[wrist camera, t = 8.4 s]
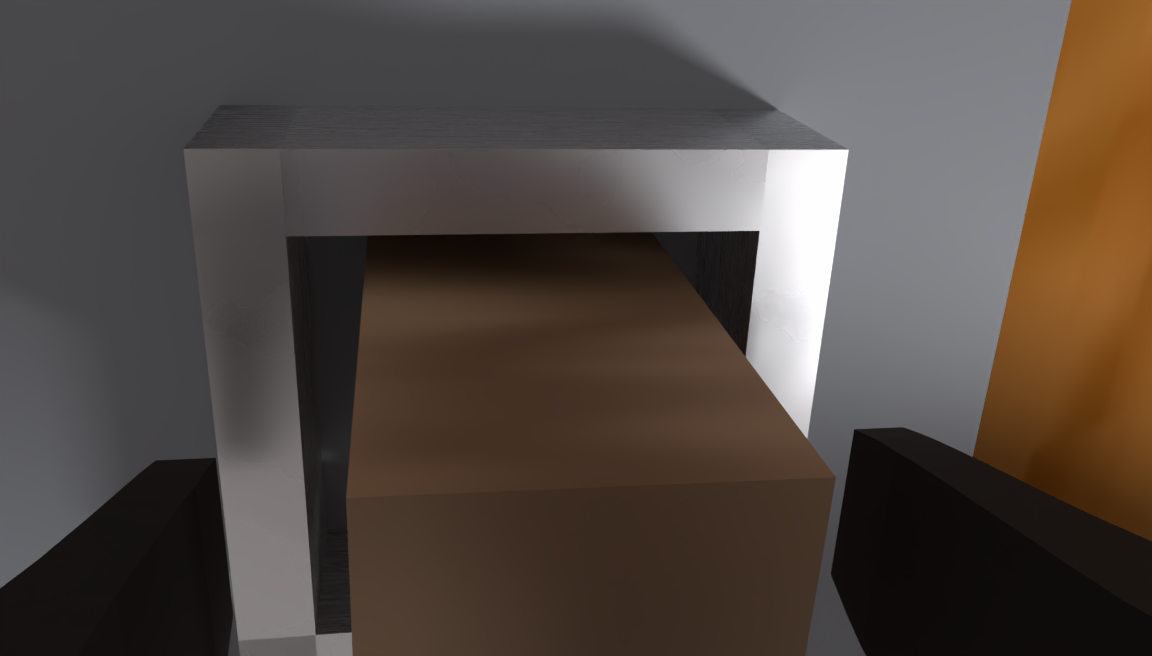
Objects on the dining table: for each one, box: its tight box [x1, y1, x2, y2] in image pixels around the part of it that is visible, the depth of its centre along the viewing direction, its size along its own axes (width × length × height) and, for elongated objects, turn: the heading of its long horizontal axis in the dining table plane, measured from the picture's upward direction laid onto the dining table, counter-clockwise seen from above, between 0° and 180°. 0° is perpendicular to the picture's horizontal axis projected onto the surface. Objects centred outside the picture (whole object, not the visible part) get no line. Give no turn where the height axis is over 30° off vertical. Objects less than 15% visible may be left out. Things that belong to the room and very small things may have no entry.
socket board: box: [0, 0, 1071, 656], centre depth 15 cm, size 16×14×3 cm
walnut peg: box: [346, 232, 836, 656], centre depth 12 cm, size 4×4×7 cm
